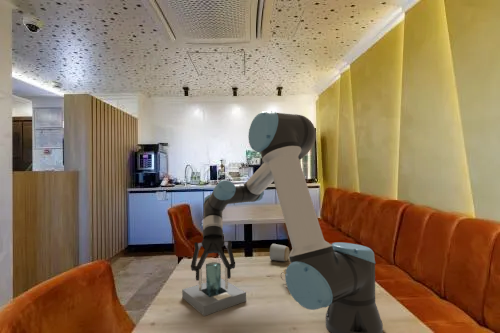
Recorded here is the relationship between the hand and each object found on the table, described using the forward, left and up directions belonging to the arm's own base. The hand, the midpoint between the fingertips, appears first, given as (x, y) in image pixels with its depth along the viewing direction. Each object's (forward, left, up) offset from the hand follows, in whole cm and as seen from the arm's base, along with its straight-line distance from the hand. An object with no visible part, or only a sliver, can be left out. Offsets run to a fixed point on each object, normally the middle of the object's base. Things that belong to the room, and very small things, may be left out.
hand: (213, 288), depth 99 cm
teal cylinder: (+3, -2, -5) cm, 6 cm away
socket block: (+3, -2, -5) cm, 6 cm away
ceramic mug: (+21, -48, -5) cm, 53 cm away
